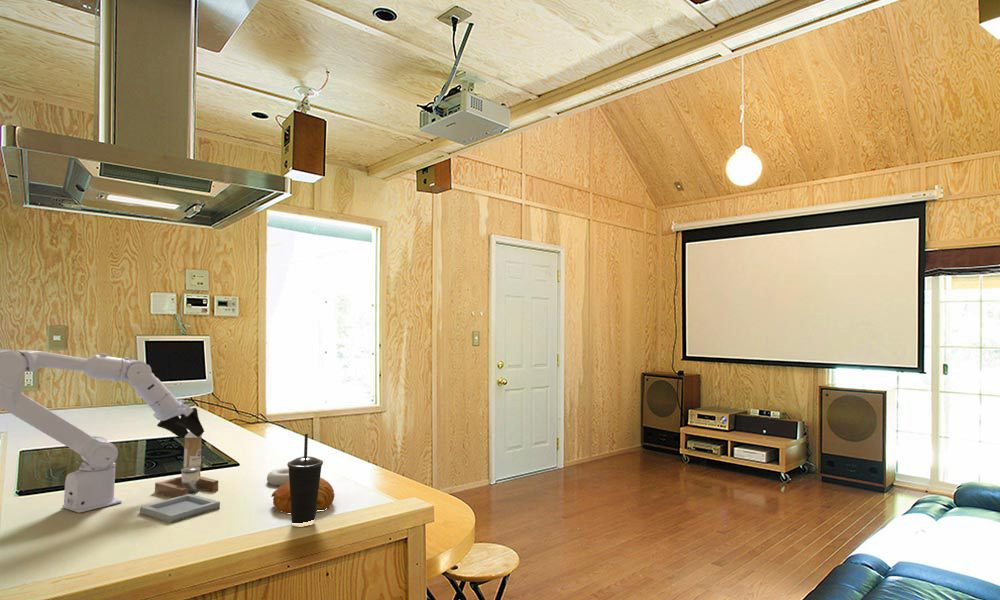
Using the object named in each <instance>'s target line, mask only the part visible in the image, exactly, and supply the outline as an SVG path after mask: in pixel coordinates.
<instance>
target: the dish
mask: <svg viewBox="0 0 1000 600" xmlns="http://www.w3.org/2000/svg"><path fill="white" fill-rule="evenodd" d="M220 507H221V502H220V501H219V500H216V499H215V500H214V499H211V498H208V497H203V496H199V495H195V494H187V495H183V496H179V497H175V498H173V497H170V498H168V499H164V500H161V501H157V502H153V503H150V504H146V505H141V506H139V514H142V515H144V516H147V517H150V518H155V519H157V520H161V521H162V522H163V521H164V522H166V523H170V524H171V523H174V522H178V521H183V520H185V519H189V518H192V517H194V515H195V516H198V515H197V514H199V515H201V513H202V514H205V513H209V512H211V510H212V511H214V509H215V510H218V509H220ZM217 508H218V509H217ZM208 511H209V512H208ZM188 517H189V518H188Z"/></svg>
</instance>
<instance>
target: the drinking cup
mask: <svg viewBox="0 0 1000 600" xmlns="http://www.w3.org/2000/svg"><path fill="white" fill-rule="evenodd" d="M308 439H309V434H308V433H305V434H304V445H303V447H304V449H303V450H304V451H303V456H299V457H296V458H294V459H292V460H290V461H288V462H287V463H286V466H287V468H289V483H290V501H291V514H290V515H291V516H290V519H291V524H292V523H303V522H308V521H311V520H314V519H315V520H316V514H317V512H316V506H317V498H318V490H319V482H320V478H321V474H322V466H323V464H324V461H323V460H322V459H319V458H317V457H314V456H308V445H309V444H308V443H309V441H308Z"/></svg>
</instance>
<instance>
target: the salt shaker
mask: <svg viewBox="0 0 1000 600" xmlns="http://www.w3.org/2000/svg"><path fill="white" fill-rule="evenodd" d="M199 470H200V471H201V467H200V468H199V467H188V468H184V467H183V468H182V469H180V472H181V477H182V480H181V487H185V488H188V494H192V495H194V494H197V493H199V488H198V485H199ZM193 493H194V494H193Z"/></svg>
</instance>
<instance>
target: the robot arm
mask: <svg viewBox="0 0 1000 600" xmlns="http://www.w3.org/2000/svg"><path fill="white" fill-rule="evenodd" d="M42 368H49V369H58V370H66V371H67V370H69V371H78V372H83V373H84V374H85V376H86V377H87V378H89V379H96V380H104V381H113V382H120V381H122V382H124V383H129V385H130V386H131V387H132V388H133V389H134V390H135V391H136V394H137V395H138V396H139V397H140V398H141V399H142V400H143V401H144V402H145V403H146V405H148V406H149V408H150V409H151V410H152V411H153V412H154V413H153V414H152V415H153V417H154V418H155V419H156V420H157V421H159V422H158V423H157V425H156V426H157V427H158V428H161V429H164V430H167V431H168V432H171V433H172V434H174V435H175V436H177V437H178V438H180V439H185V436H186V435H187V434H188V431H187V430H189V431H190V432H191V433H193V434H194V435H195V436H197V437H199V436H200V435H201V434H202V435H203V434H204V432H205V428H203V425H202V423H201V420H200V417H199V414H198V409H197V408H196V407H190V406H189V405H186V404H184V403H185V402H186V401H185V399H179V400H178V398H177V397H175V395H174V394H173V393H172V392H171V391H170V390H169V389H168V388H167V387H166V386H165V384H163V382H162V381H161V380H160V379H159V377H157V376H155V374H154V373H153V372H152V367H151V366H150V364H148V363H146V362H144V361H140V360H137V359H133V358H130V357H128V356H127V357H126V356H123V358H122V357H114V356H109V355H108V353H104V352H100V353H99V354H93V355H91V356H89V357H87V358H84V357H77V356H73V355H72V356H71V355H65V354H61V353H55V352H54V353H53V352H49V351H48V352H47V351H42V350H28V349H20V350H19V349H16V350H12V349H8V348H1V349H0V408H1V409H3V410H4V411H6V412H8V413H10V414H11V415H13V416H14V417H16V418H18V419H19V420H21V421H23V422H24V423H26V424H28V425H29V426H31V427H33V428H35V429H37V430H38V431H40V432H42V433H43V434H45V435H46V436H49V437H50V438H52V439H54V440H56V441H57V442H59V443H61V444H62V445H64V446H66V447H68V448H69V449H71V450H72V451H73V452H75V453H77V454H78V455H79V456H80V458H81V459H82V460H83V461H82V462H81V464H80V465H79V469H77V470H76V471H73V472H70V473H68V474H67V475H66V477H65V481H64V494H63V495H64V497H63V498H64V499H63V505H61V507H62V508H63V509H67V510H69V511H72V512H76V513H85V512H88V511H93V510H96V509H102V508H105V507H107V506H112V505H117V504H120V503H122V502H123V501H122V499H119V498H114V497H115V485H116V484H115V480H116V461H117V459H118V456H119V451H118V448H117V447H116V445H115V444H114V443H112V442H109V441H108V440H107V439H106V438H104V437H102V436H94V435H91V434H89V433H88V432H86V431H85V430H83V429H81V428H79V427H78V426H76V425H74V424H73V423H71V422H69V421H68V420H66V419H65V418H63V417H61V416H60V415H58V414H56V413H54V412H53V411H52V410H50V409H49V408H47V407H45V406H43V405H42V404H40V403H39V402H37V401H35V400H34V399H33V398H30V397H29V396H27V395H25V394H24V393H23V392H22V379H23V376H24V374H25V371H28V372H30V373H31V372H35V371H37V370H40V369H42Z"/></svg>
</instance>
